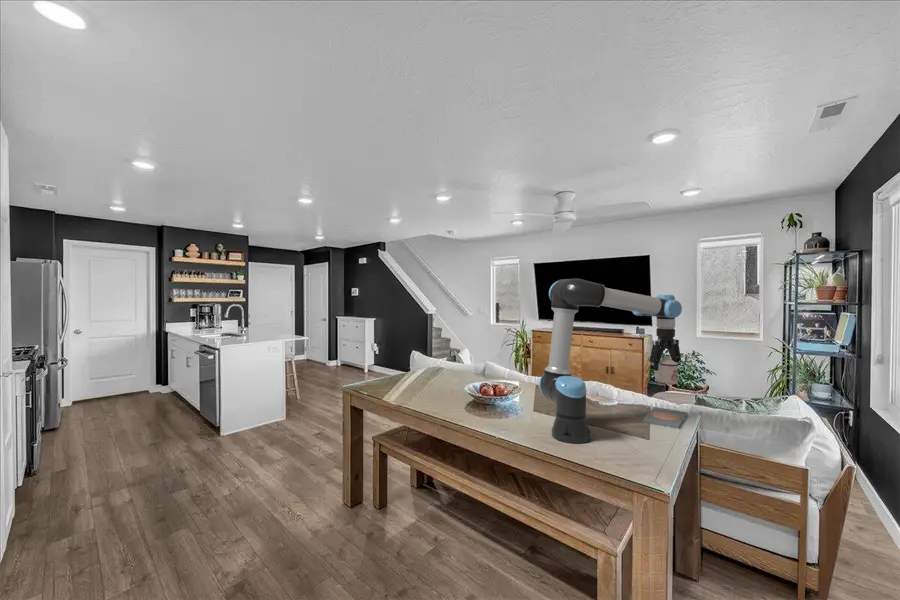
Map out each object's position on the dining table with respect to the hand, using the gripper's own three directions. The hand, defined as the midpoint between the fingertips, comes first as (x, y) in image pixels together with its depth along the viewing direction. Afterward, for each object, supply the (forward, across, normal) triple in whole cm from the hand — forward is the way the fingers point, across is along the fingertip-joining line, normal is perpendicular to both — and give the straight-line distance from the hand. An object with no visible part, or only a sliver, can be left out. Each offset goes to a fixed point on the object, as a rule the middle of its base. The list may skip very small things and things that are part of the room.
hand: (665, 376), depth 176 cm
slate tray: (+19, 0, 0) cm, 19 cm away
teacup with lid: (+3, -1, 0) cm, 3 cm away
